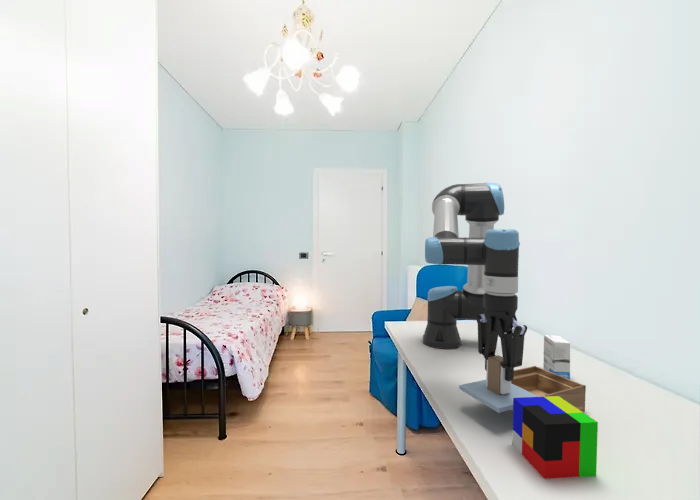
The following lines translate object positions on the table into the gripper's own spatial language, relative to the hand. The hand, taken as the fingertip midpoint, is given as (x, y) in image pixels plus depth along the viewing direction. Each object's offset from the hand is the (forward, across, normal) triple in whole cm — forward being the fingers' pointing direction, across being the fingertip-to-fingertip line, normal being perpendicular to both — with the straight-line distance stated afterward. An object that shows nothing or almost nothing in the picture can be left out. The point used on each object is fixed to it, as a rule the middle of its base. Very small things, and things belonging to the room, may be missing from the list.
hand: (498, 388), depth 81 cm
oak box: (+7, 0, +15) cm, 16 cm away
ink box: (+7, -11, +37) cm, 39 cm away
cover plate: (+2, 0, 0) cm, 2 cm away
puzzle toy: (+7, +16, -3) cm, 18 cm away
